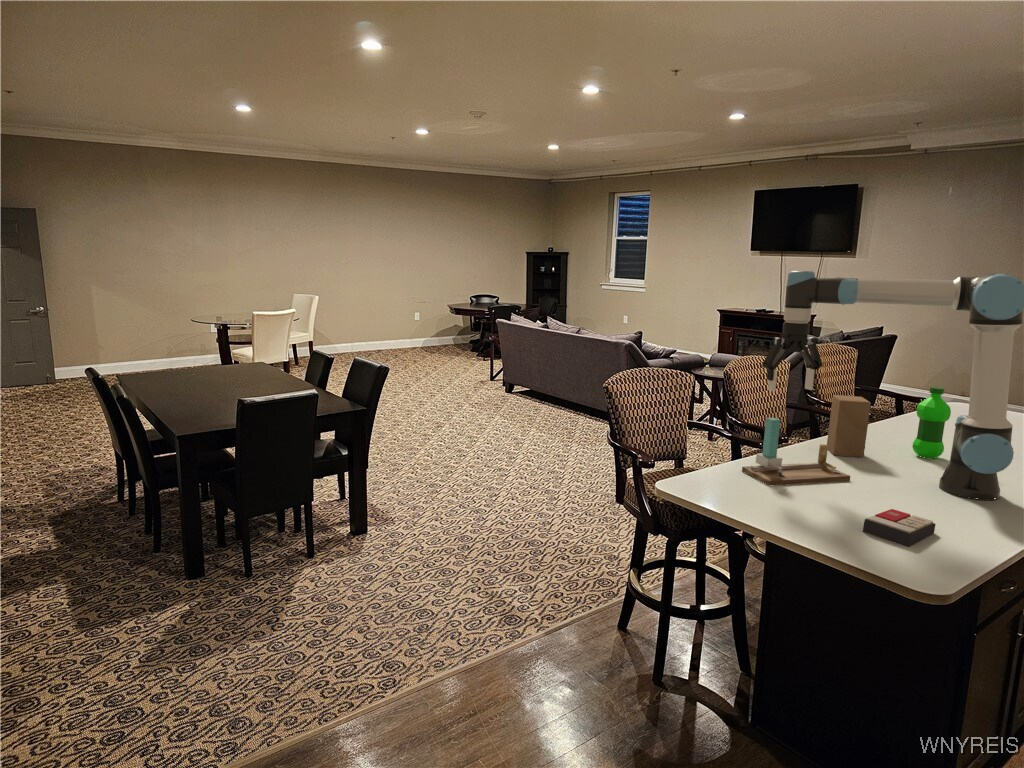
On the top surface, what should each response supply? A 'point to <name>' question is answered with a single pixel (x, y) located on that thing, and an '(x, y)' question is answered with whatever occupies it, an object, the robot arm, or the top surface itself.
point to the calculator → (899, 527)
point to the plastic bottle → (931, 424)
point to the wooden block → (848, 425)
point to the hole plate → (799, 472)
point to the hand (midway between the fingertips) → (790, 390)
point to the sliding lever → (770, 446)
